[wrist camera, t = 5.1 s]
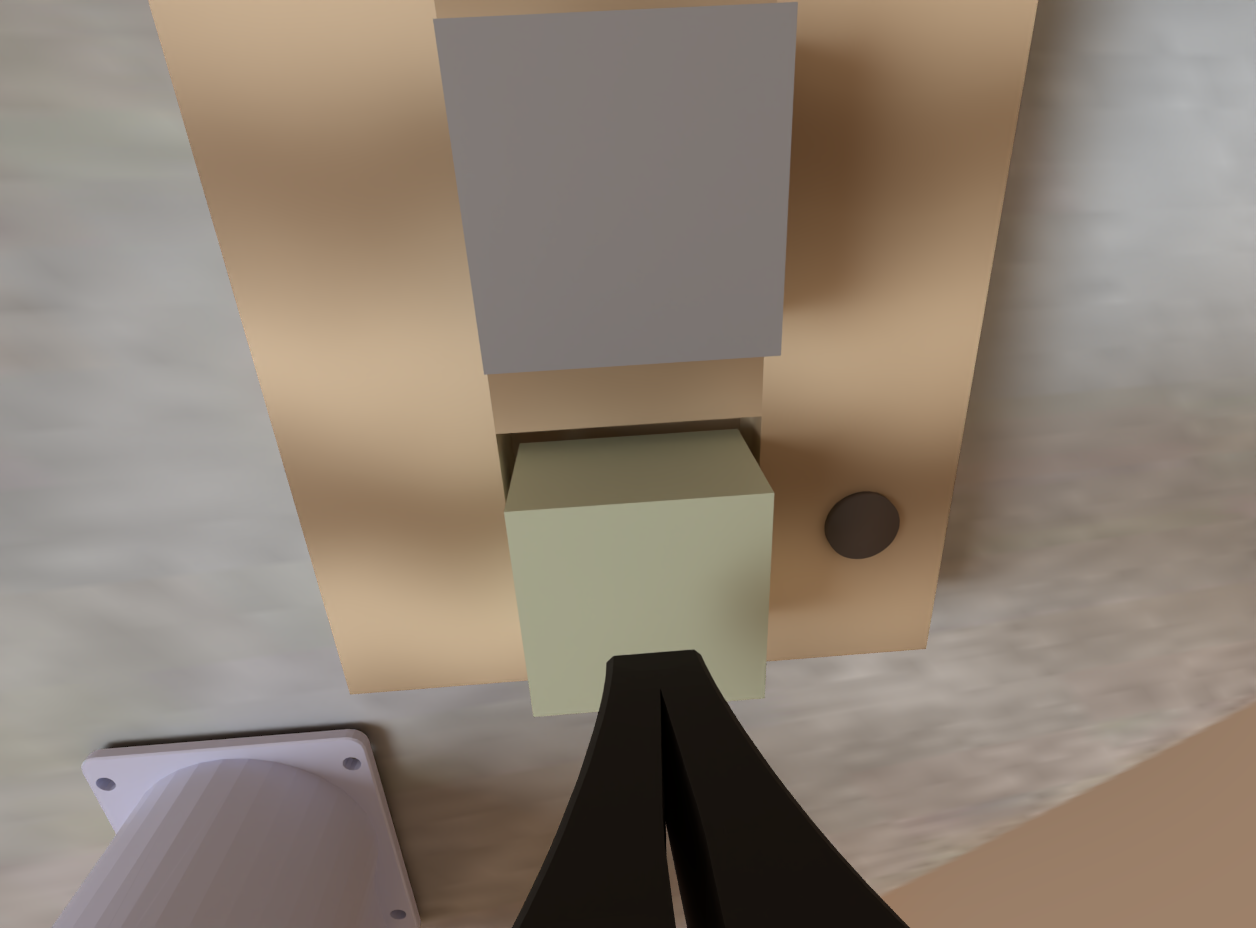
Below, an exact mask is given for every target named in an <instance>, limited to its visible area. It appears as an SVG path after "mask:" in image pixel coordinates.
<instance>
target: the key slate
mask: <svg viewBox="0 0 1256 928" xmlns="http://www.w3.org/2000/svg"><path fill="white" fill-rule="evenodd" d="M797 10H798V2H785V3H763V4H742V5H720V6H698V7H677V8H655V9H634V10H612V11H591V12H569V13H547V14H526V15H504V16H483V17H461V18H440V19H433V23H434V30H435V37H436V44H437V51H438V58H439V65H440V72H441V79H442V86H443V93H444V100H445V107H446V114H447V121H448V128H449V135H450V141H451V148H452V155H453V162H454V169H455V176H456V183H457V190H458V197H459V204H460V211H461V218H462V225H463V232H464V239H465V246H466V253H467V260H468V266H469V273H470V280H471V287H472V294H473V301H474V308H475V315H476V322H477V329H478V336H479V343H480V350H481V357H482V364H483V371H484V375H487V374H502V373H518V372H534V371H549V370H565V369H580V368H596V367H612V366H627V365H643V364H658V363H674V362H690V361H705V360H721V359H737V358H752V357H768V356H781V344H782V323H783V302H784V282H785V261H786V240H787V219H788V198H789V177H790V156H791V136H792V115H793V94H794V73H795V52H796V31H797Z"/></svg>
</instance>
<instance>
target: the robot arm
mask: <svg viewBox="0 0 1256 928" xmlns="http://www.w3.org/2000/svg"><path fill="white" fill-rule="evenodd" d="M351 757H353V758H356V759H353V758H351ZM81 768H82V772H83V774H84V776H85V778H86V780H87V781H88V783H89V785H90V787H91V789H92V791H93V792H94V794H95V796H96V798H97V800H98V802H99V803H100V805H101V807H102V809H103V811H104V813H105V814H106V816H107V818H108V820H109V822H110V824H111V825H112V827H113V829H114V831H115V833H116V836H115V837H114V838H113V840H112V841H111V843H110V844H109V846H108V847H107V848H106V850H105V851H104V853H103V854H102V856H101V857H100V859H99V860H98V861H97V863H96V864H95V866H94V867H93V869H92V870H91V871H90V873H89V874H88V876H87V877H86V879H85V880H84V882H83V883H82V884H81V886H80V887H79V889H78V890H77V892H76V893H75V894H74V896H73V897H72V899H71V900H70V902H69V903H68V905H67V906H66V907H65V909H64V910H63V912H62V913H61V915H60V916H59V917H58V919H57V920H56V922H55V923H54V925H53V926H52V927H51V928H420V926H421V920H420V916H419V913H418V909H417V906H416V902H415V899H414V895H413V892H412V888H411V885H410V881H409V878H408V874H407V871H406V867H405V864H404V860H403V857H402V853H401V850H400V846H399V843H398V839H397V836H396V832H395V829H394V825H393V822H392V818H391V815H390V811H389V808H388V804H387V801H386V797H385V794H384V790H383V787H382V783H381V780H380V776H379V773H378V769H377V766H376V762H375V759H374V755H373V752H372V748H371V745H370V741H369V739H368V737H367V736H366V735H365V734H364V733H362V732H361V731H358V730H356V729H343V730H331V731H318V732H306V733H294V734H281V735H269V736H257V737H244V738H232V739H220V740H207V741H195V742H183V743H170V744H158V745H146V746H133V747H121V748H109V749H99V750H95V751H93V752H92V753H91V754H89V756H88V757H87V758H86V759H85V760H84V762H83V763H82V766H81ZM666 826H667V831H668V836H669V841H670V846H671V851H672V855H673V860H674V865H675V870H676V875H677V880H678V885H679V890H680V895H681V900H682V904H683V909H684V914H685V919H686V924H687V928H910V927H909V926H907V924H906V923H905V922H904V921H902V919H901V918H900V917H899V916H898V915H897V914H896V913H895V912H894V911H893V910H892V909H891V908H890V907H889V906H888V905H887V904H886V903H885V902H884V901H883V900H882V899H881V897H880V896H879V895H878V894H877V893H876V892H875V891H874V890H873V889H872V888H871V887H870V886H869V885H868V884H867V883H866V882H865V881H864V879H863V878H862V877H861V876H860V875H859V874H858V873H857V872H856V871H855V870H854V868H853V867H852V866H851V865H850V864H849V863H848V862H847V861H846V860H845V858H844V857H843V856H842V855H841V854H840V853H839V852H838V851H837V849H836V848H835V847H834V846H833V845H832V844H831V843H830V841H829V840H828V839H827V838H826V837H825V836H824V834H823V833H822V832H821V831H820V830H819V828H818V827H817V826H816V825H815V824H814V822H813V821H812V820H811V819H810V817H809V816H808V815H807V814H806V812H805V811H804V810H803V809H802V807H801V806H800V805H799V804H798V802H797V801H796V800H795V799H794V797H793V796H792V795H791V793H790V792H789V791H788V790H787V788H786V787H785V786H784V784H783V783H782V782H781V780H780V779H779V778H778V776H777V775H776V774H775V772H774V771H773V770H772V768H771V767H770V766H769V764H768V763H767V761H766V760H765V759H764V757H763V756H762V754H761V753H760V751H759V750H758V749H757V747H756V746H755V744H754V743H753V741H752V740H751V739H750V737H749V736H748V734H747V733H746V731H745V730H744V728H743V727H742V725H741V724H740V722H739V721H738V719H737V718H736V716H735V715H734V713H733V711H732V710H731V708H730V707H729V705H728V703H727V702H726V700H725V698H724V697H723V695H722V693H721V692H720V690H719V688H718V687H717V685H716V683H715V681H714V679H713V678H712V676H711V674H710V672H709V670H708V668H707V666H706V664H705V662H704V660H703V658H702V655H701V654H699V653H698V652H697V651H696V650H694V649H692V650H679V651H667V652H654V653H642V654H630V655H617V656H613V657H612V658H611V659H610V660H608V661H607V662H606V676H605V683H604V689H603V694H602V699H601V704H600V708H599V712H598V715H597V719H596V723H595V727H594V731H593V734H592V737H591V740H590V743H589V746H588V749H587V753H586V756H585V759H584V762H583V765H582V768H581V771H580V774H579V777H578V780H577V782H576V785H575V788H574V790H573V793H572V795H571V798H570V800H569V803H568V805H567V808H566V811H565V813H564V816H563V818H562V821H561V823H560V826H559V828H558V831H557V833H556V836H555V838H554V840H553V843H552V845H551V847H550V850H549V852H548V854H547V856H546V859H545V861H544V863H543V865H542V867H541V870H540V872H539V874H538V876H537V878H536V880H535V882H534V884H533V887H532V889H531V891H530V893H529V895H528V897H527V899H526V901H525V903H524V905H523V907H522V909H521V911H520V913H519V915H518V917H517V919H516V921H515V923H514V925H513V927H512V928H676V926H675V918H674V911H673V903H672V896H671V888H670V880H669V873H668V865H667V856H666Z"/></svg>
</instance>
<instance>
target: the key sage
mask: <svg viewBox="0 0 1256 928" xmlns="http://www.w3.org/2000/svg"><path fill="white" fill-rule="evenodd" d="M773 511H774V491H773V490H772V488H771V486H770V484H769V483H768V481H767V479H766V477H765V476H764V474H763V472H762V470H761V469H760V467H759V465H758V463H757V462H756V460H755V458H754V456H753V455H752V453H751V451H750V449H749V448H748V446H747V444H746V442H745V441H744V439H743V437H742V435H741V434H740V432H739V430H738V429H725V430H711V431H696V432H681V433H666V434H651V435H637V436H622V437H607V438H592V439H577V440H563V441H548V442H533V443H520V444H519V449H518V453H517V457H516V462H515V466H514V470H513V475H512V479H511V483H510V488H509V492H508V496H507V501H506V505H505V509H504V517H505V524H506V530H507V537H508V544H509V551H510V558H511V565H512V572H513V579H514V586H515V593H516V600H517V607H518V614H519V621H520V628H521V635H522V642H523V649H524V655H525V662H526V669H527V676H528V683H529V690H530V697H531V704H532V711H533V717H540V716H552V715H564V714H577V713H589V712H599V708H600V704H601V699H602V694H603V689H604V683H605V676H606V662H607V661H608V660H610V659H611V658H612V657H613V656H617V655H630V654H642V653H654V652H667V651H679V650H692V649H694V650H696V651H697V652H698V653H699V654H701V655H702V658H703V660H704V662H705V664H706V666H707V668H708V670H709V672H710V674H711V676H712V678H713V679H714V681H715V683H716V685H717V687H718V688H719V690H720V692H721V693H722V695H723V697H724V698H725V700H726V701H737V700H749V699H761V698H765V678H766V657H767V636H768V615H769V595H770V574H771V553H772V532H773Z"/></svg>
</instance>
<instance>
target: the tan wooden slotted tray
mask: <svg viewBox="0 0 1256 928" xmlns="http://www.w3.org/2000/svg"><path fill="white" fill-rule="evenodd" d="M148 1H149V5H150V8H151V11H152V15H153V18H154V22H155V25H156V29H157V32H158V35H159V39H160V42H161V46H162V49H163V53H164V56H165V60H166V63H167V66H168V70H169V73H170V77H171V80H172V84H173V87H174V90H175V94H176V97H177V101H178V104H179V108H180V111H181V114H182V118H183V121H184V125H185V128H186V132H187V135H188V139H189V142H190V145H191V149H192V152H193V156H194V159H195V163H196V166H197V169H198V173H199V176H200V180H201V183H202V187H203V190H204V194H205V197H206V200H207V204H208V207H209V211H210V214H211V218H212V221H213V224H214V228H215V231H216V235H217V238H218V242H219V245H220V248H221V252H222V255H223V259H224V262H225V266H226V269H227V273H228V276H229V279H230V283H231V286H232V290H233V293H234V297H235V300H236V303H237V307H238V310H239V314H240V317H241V321H242V324H243V328H244V331H245V334H246V338H247V341H248V345H249V348H250V352H251V355H252V358H253V362H254V365H255V369H256V372H257V376H258V379H259V382H260V386H261V389H262V393H263V396H264V400H265V403H266V407H267V410H268V413H269V417H270V420H271V424H272V427H273V431H274V434H275V437H276V441H277V444H278V448H279V451H280V455H281V458H282V462H283V465H284V468H285V472H286V475H287V479H288V482H289V486H290V489H291V492H292V496H293V499H294V503H295V506H296V510H297V513H298V516H299V520H300V523H301V527H302V530H303V534H304V537H305V541H306V544H307V547H308V551H309V554H310V558H311V561H312V565H313V568H314V571H315V575H316V578H317V582H318V585H319V589H320V592H321V596H322V599H323V602H324V606H325V609H326V613H327V616H328V620H329V623H330V626H331V630H332V633H333V637H334V640H335V644H336V647H337V651H338V654H339V657H340V661H341V664H342V668H343V671H344V675H345V678H346V681H347V685H348V688H349V692H350V694H362V693H374V692H387V691H399V690H412V689H425V688H437V687H450V686H463V685H475V684H488V683H500V682H513V681H526V680H528V676H527V669H526V662H525V655H524V649H523V642H522V635H521V628H520V621H519V614H518V607H517V600H516V593H515V586H514V579H513V572H512V565H511V558H510V551H509V544H508V537H507V530H506V524H505V517H504V509H505V505H506V501H507V496H508V492H509V488H510V483H511V479H512V475H513V470H514V466H515V462H516V457H517V453H518V449H519V444H520V443H533V442H548V441H563V440H577V439H592V438H607V437H622V436H637V435H651V434H666V433H681V432H696V431H711V430H725V429H738V430H739V432H740V434H741V435H742V437H743V439H744V441H745V442H746V444H747V446H748V448H749V449H750V451H751V453H752V455H753V456H754V458H755V460H756V462H757V463H758V465H759V467H760V469H761V470H762V472H763V474H764V476H765V477H766V479H767V481H768V483H769V484H770V486H771V488H772V490H773V491H774V511H773V532H772V553H771V574H770V595H769V615H768V636H767V657H766V661H778V660H790V659H803V658H815V657H828V656H841V655H853V654H866V653H878V652H891V651H904V650H916V649H926V645H927V639H928V633H929V628H930V622H931V616H932V610H933V605H934V599H935V593H936V587H937V582H938V576H939V570H940V564H941V558H942V553H943V547H944V541H945V535H946V530H947V524H948V518H949V512H950V507H951V501H952V495H953V489H954V483H955V478H956V472H957V466H958V460H959V455H960V449H961V443H962V437H963V431H964V426H965V420H966V414H967V408H968V403H969V397H970V391H971V385H972V380H973V374H974V368H975V362H976V356H977V351H978V345H979V339H980V333H981V328H982V322H983V316H984V310H985V305H986V299H987V293H988V287H989V281H990V276H991V270H992V264H993V258H994V253H995V247H996V241H997V235H998V229H999V224H1000V218H1001V212H1002V206H1003V201H1004V195H1005V189H1006V183H1007V178H1008V172H1009V166H1010V160H1011V154H1012V149H1013V143H1014V137H1015V131H1016V126H1017V120H1018V114H1019V108H1020V103H1021V97H1022V91H1023V85H1024V79H1025V74H1026V68H1027V62H1028V56H1029V51H1030V45H1031V39H1032V33H1033V27H1034V22H1035V16H1036V10H1037V4H1038V0H148ZM785 2H798V10H797V31H796V52H795V73H794V94H793V115H792V136H791V156H790V177H789V198H788V219H787V240H786V261H785V282H784V302H783V323H782V344H781V356H768V357H752V358H737V359H721V360H705V361H690V362H674V363H658V364H643V365H627V366H612V367H596V368H580V369H565V370H549V371H534V372H518V373H502V374H487V375H484V371H483V364H482V357H481V350H480V343H479V336H478V329H477V322H476V315H475V308H474V301H473V294H472V287H471V280H470V273H469V266H468V260H467V253H466V246H465V239H464V232H463V225H462V218H461V211H460V204H459V197H458V190H457V183H456V176H455V169H454V162H453V155H452V148H451V141H450V135H449V128H448V121H447V114H446V107H445V100H444V93H443V86H442V79H441V72H440V65H439V58H438V51H437V44H436V37H435V30H434V23H433V19H440V18H461V17H483V16H504V15H526V14H547V13H569V12H591V11H612V10H634V9H655V8H677V7H698V6H720V5H742V4H763V3H785Z"/></svg>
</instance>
